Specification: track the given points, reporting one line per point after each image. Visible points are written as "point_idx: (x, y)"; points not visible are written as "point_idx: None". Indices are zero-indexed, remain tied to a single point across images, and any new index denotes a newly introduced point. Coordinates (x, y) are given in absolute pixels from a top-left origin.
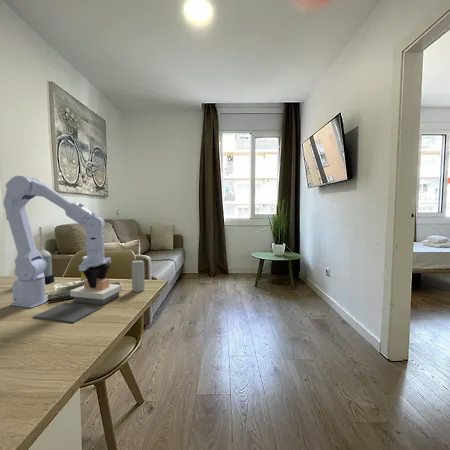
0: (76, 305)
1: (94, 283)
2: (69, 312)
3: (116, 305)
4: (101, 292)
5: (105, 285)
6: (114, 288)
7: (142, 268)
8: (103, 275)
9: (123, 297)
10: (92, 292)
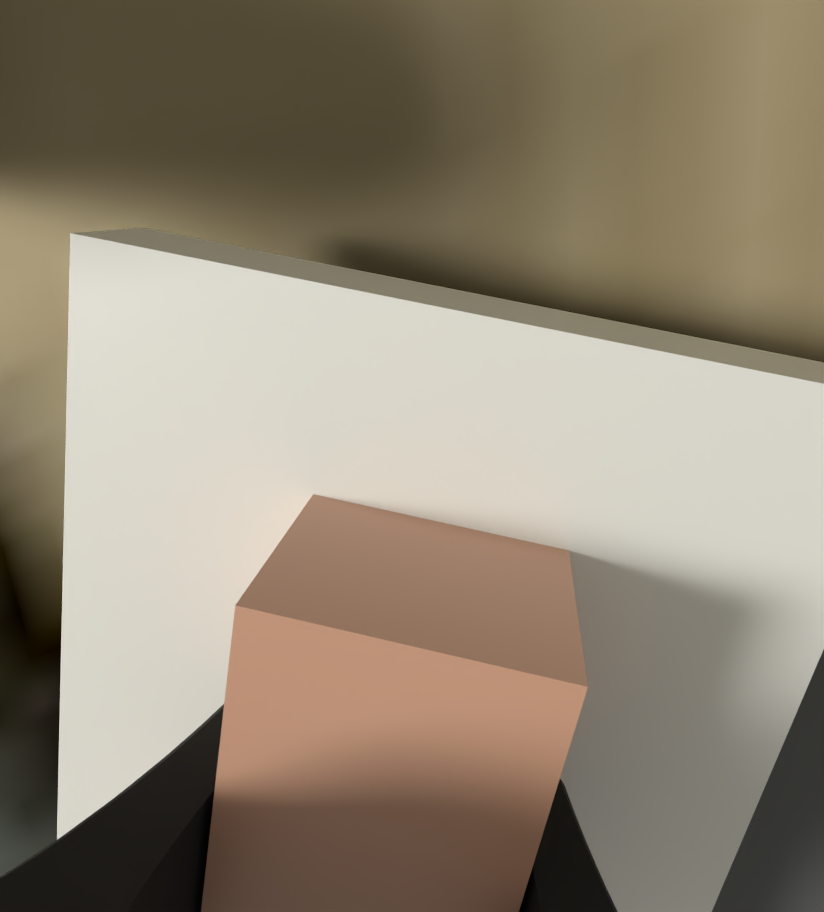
0: (813, 782)
1: (599, 873)
2: None
3: (773, 69)
4: (787, 498)
5: (459, 570)
6: (413, 300)
7: None
8: (149, 893)
9: (276, 154)
10: (767, 710)
